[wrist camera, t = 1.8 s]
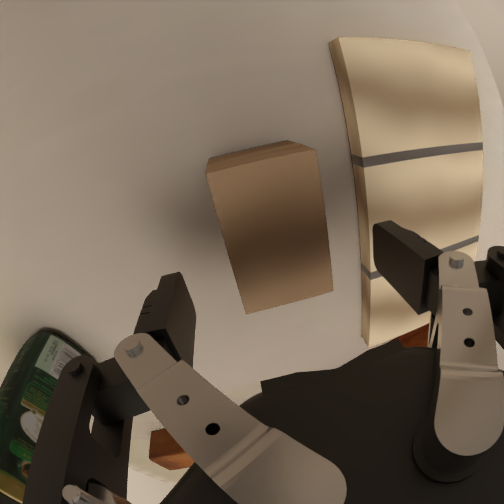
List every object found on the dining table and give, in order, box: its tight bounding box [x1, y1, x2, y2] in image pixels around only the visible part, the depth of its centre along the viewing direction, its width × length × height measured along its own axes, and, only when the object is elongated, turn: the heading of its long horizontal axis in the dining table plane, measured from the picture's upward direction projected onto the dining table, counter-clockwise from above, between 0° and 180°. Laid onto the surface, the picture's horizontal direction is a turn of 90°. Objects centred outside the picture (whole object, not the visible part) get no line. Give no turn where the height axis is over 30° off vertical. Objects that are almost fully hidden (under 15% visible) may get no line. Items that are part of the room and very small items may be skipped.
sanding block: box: [206, 140, 333, 314], centre depth 15 cm, size 7×4×5 cm, turn 13°
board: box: [329, 37, 483, 348], centre depth 17 cm, size 22×11×2 cm, turn 13°
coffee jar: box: [0, 332, 85, 504], centre depth 13 cm, size 10×8×19 cm
